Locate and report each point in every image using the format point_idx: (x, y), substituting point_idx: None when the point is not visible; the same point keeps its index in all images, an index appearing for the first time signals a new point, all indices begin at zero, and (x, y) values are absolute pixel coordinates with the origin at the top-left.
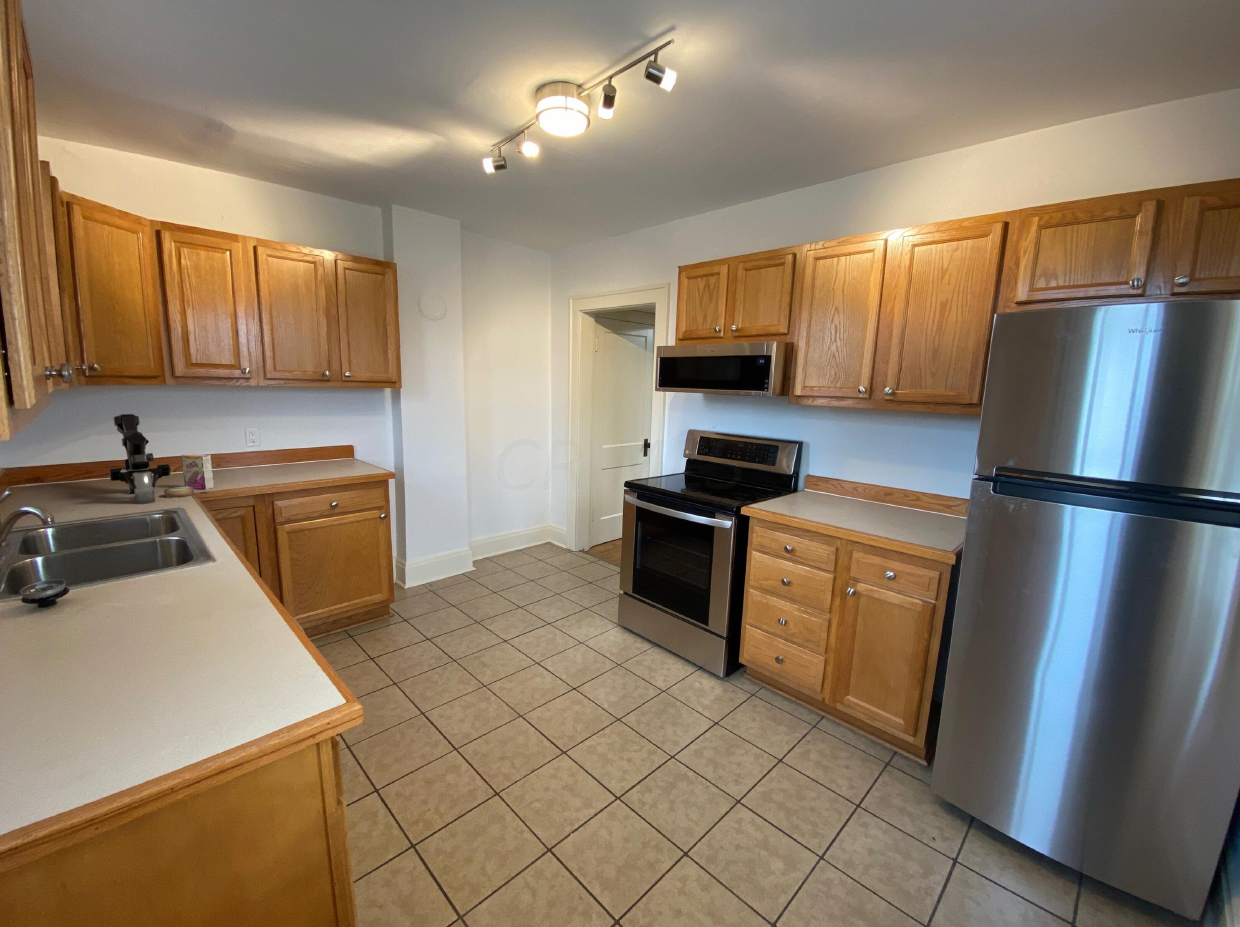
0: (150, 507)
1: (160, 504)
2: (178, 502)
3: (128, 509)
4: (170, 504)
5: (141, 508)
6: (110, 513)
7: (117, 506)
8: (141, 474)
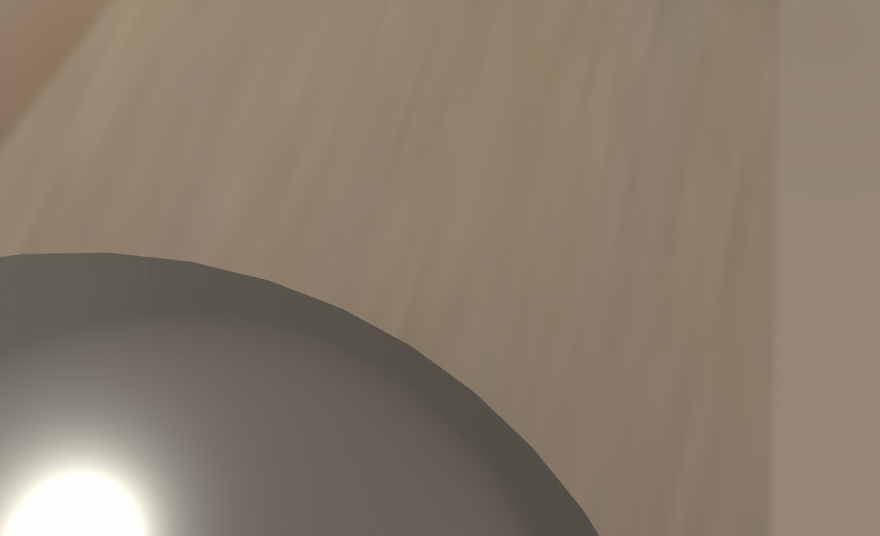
0: (411, 57)
1: (268, 144)
2: (74, 87)
3: (605, 147)
4: (194, 42)
5: (494, 84)
6: (778, 83)
7: (648, 468)
8: (300, 305)
